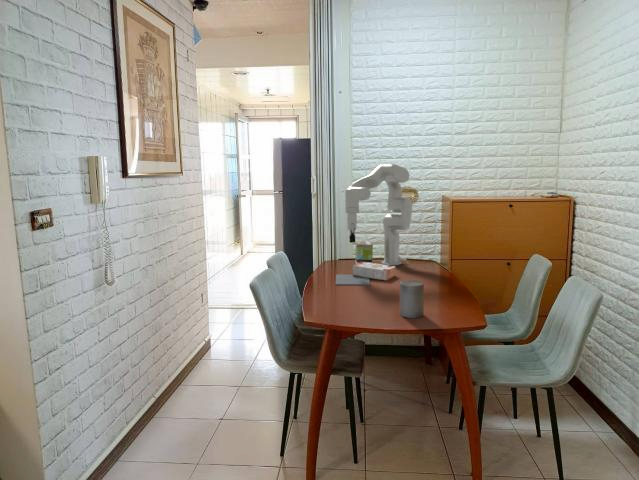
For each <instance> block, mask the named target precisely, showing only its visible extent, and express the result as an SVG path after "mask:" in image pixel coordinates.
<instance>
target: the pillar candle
mask: <svg viewBox="0 0 639 480" xmlns="http://www.w3.org/2000/svg"><path fill="white" fill-rule="evenodd" d="M424 286H425V285H424V282H423V281H421V280H417V279H416V280H415V279H405V280H402V281H400V282H399V315H400V316H401V317H404V318H408V319H419V318H421V317H423V316H424V308H425V307H424V304H425V303H424V302H425V301H424V300H425V299H424V298H425V297H424V295H425V292H424V291H425V289H424Z"/></svg>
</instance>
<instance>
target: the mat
mask: <svg viewBox="0 0 639 480" xmlns="http://www.w3.org/2000/svg"><path fill="white" fill-rule="evenodd" d="M335 286H371V283H370V278H367V277H361V276H355V275H352V273H351V274H350V273H349V274H345V273H344V274H343V273H342V274H339V273H338V274H337V273H336V274H335Z"/></svg>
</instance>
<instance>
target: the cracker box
mask: <svg viewBox="0 0 639 480" xmlns="http://www.w3.org/2000/svg"><path fill="white" fill-rule="evenodd" d="M396 266H397V265H384V264H382V263H381V264H380V263H375V262H374V263H373V262H372V263H368V262H361V263H358V264H356V263H355V264H353V265H352V270H351V274H352V275H355V276H361V277H367V278H369V279H373V280H382V281H388V280H390V279H392V278H394V277H395V276H396V269H397V268H396Z"/></svg>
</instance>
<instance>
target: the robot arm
mask: <svg viewBox="0 0 639 480" xmlns="http://www.w3.org/2000/svg"><path fill="white" fill-rule="evenodd" d="M408 180H410V173H409V170H408V169H407V168H404V167H403V166H400V165H398V164H395V163H388V164H387V163H383V164H382V163H381V164H379V165H378V166H377V167H375V169H373V170H372V171H371V172H370V173H369V175H367V176H364V177H362V178H360V179H358V180H356V181H354V182H353V183H352V184H351V185H349V186H348V188H346V189H345V192H344V193H345V202H344V203H345V214H347V216H346V219H347V220H346V226H347V227H346V229H347V231H349V243H356V231H357V225H358V224H357V223H358V222H357V221H358V217H357V216H358V215H357V214H358V213H359V212H360V201H367V200H369V199H370V198H371V195H372V194H371V189H374V188H377V187H379V186H380V185H381V183H382V182H385V183H386V185H387V187H388V197H387V202H386V203H387V204H386V205H387V206H386V207H387V210H388V212H390V214H386V215H384V217H383V218H382V226H383V230H384V231H383V234H384V241H383V242H384V243H383V250H384V251H383V260H381V264H382V265H389V266H399V265H402V262H407V257H400V239H401V238H400V234H399V231H408V230H409V229H410V226H411V224H412V223H411V221H412V213H413V202H412V200H411V199H410V198H408V197H403V188H402V185H401V184H402V183H407V182H408ZM392 213H398V214H392ZM399 213H400V214H399Z"/></svg>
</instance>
